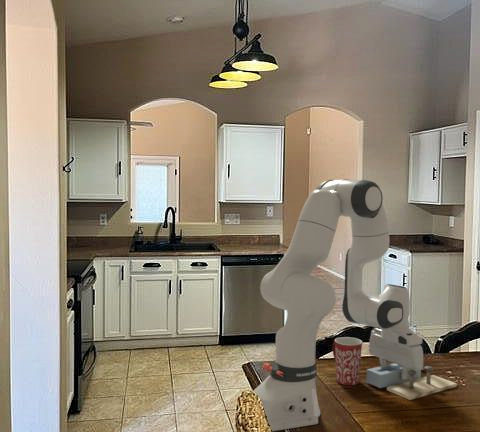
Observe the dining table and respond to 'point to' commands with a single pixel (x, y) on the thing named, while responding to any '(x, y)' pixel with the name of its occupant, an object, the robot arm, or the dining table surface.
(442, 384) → the boss board
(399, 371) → the two-hole block
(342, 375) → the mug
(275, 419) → the robot arm
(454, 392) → the dining table surface
